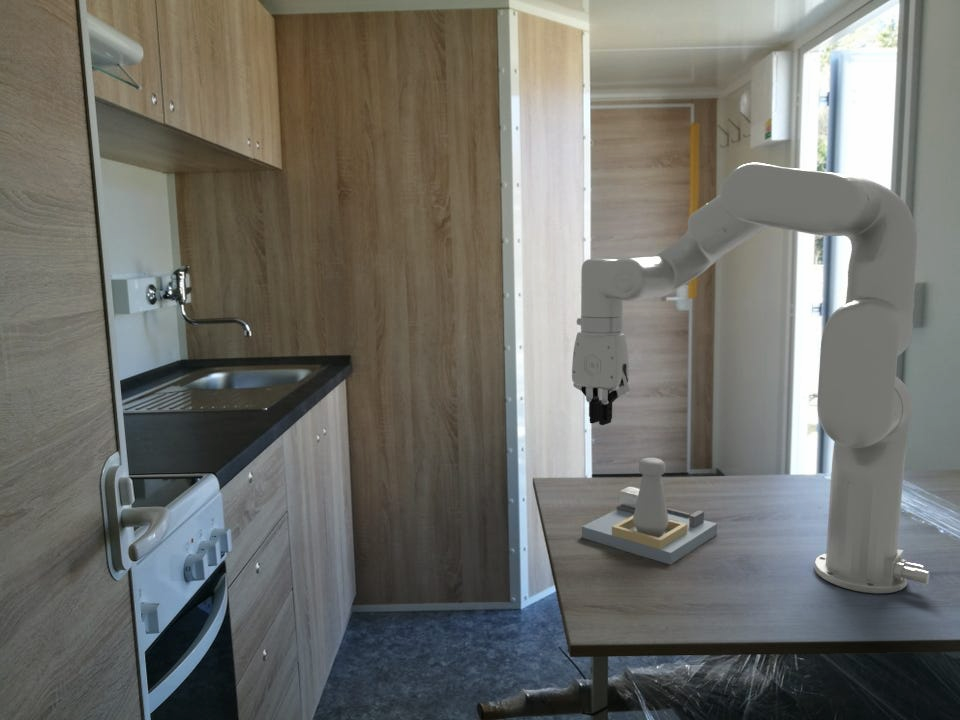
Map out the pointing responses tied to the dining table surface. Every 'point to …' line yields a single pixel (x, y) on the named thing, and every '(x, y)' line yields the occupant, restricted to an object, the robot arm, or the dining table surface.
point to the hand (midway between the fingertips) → (600, 422)
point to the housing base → (667, 548)
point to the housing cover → (629, 497)
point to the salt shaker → (651, 499)
